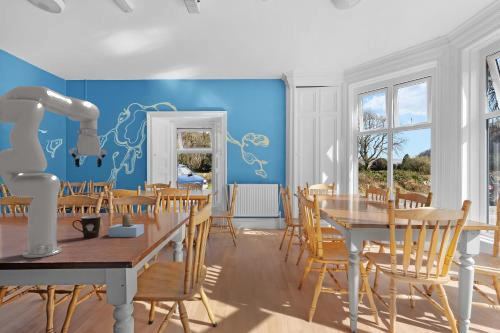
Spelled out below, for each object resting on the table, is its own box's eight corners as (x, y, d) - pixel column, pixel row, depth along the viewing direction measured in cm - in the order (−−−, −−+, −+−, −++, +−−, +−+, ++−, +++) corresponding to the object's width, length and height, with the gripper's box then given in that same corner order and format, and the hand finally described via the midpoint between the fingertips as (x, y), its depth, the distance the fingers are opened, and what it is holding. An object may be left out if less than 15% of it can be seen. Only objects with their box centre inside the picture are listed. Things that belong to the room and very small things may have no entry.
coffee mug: (104, 235, 151) (104, 215, 152) (94, 239, 143) (94, 218, 143) (82, 235, 153) (82, 215, 153) (71, 239, 144) (71, 218, 144)
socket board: (143, 233, 157) (143, 224, 157) (136, 236, 148) (136, 227, 148) (117, 232, 158) (117, 224, 158) (108, 236, 149) (108, 227, 149)
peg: (132, 234, 153) (132, 215, 153) (123, 236, 150) (124, 215, 150) (129, 233, 156) (129, 214, 156) (121, 234, 153) (121, 215, 153)
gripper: (70, 131, 143) (70, 167, 143) (109, 133, 155) (109, 167, 155) (67, 132, 149) (67, 167, 149) (104, 135, 160) (104, 167, 160)
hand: (88, 167), depth 152 cm, fingers open, 9 cm apart
